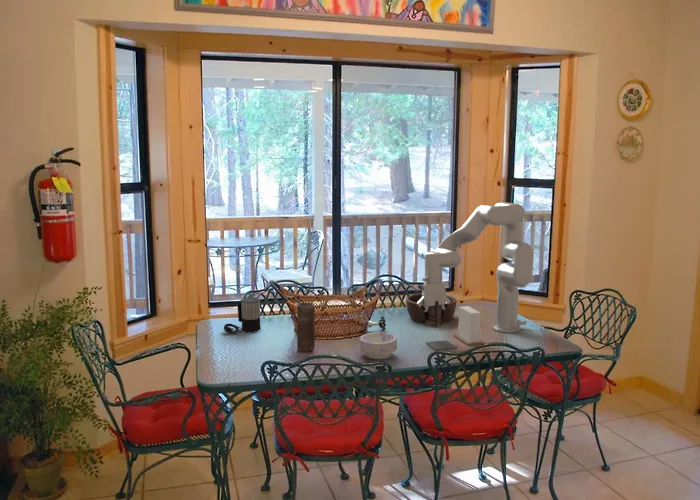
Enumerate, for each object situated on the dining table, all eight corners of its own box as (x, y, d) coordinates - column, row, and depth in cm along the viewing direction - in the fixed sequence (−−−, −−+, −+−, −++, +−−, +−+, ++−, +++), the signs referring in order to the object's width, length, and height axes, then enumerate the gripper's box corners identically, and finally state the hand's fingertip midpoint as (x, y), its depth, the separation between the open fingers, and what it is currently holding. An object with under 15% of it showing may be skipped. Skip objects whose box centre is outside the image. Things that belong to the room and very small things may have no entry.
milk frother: (265, 329, 283) (264, 298, 281) (244, 338, 269) (243, 305, 267) (241, 325, 290) (240, 295, 287) (219, 333, 276) (218, 302, 274)
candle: (306, 346, 258) (305, 300, 255) (318, 349, 253) (318, 303, 250) (293, 350, 252) (292, 304, 249) (306, 354, 247) (305, 307, 244)
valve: (360, 333, 276) (385, 332, 279) (360, 319, 275) (386, 318, 278) (357, 329, 282) (381, 328, 285) (357, 316, 281) (382, 314, 284)
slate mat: (446, 341, 264) (446, 340, 264) (456, 348, 254) (456, 347, 254) (425, 343, 261) (425, 342, 261) (434, 350, 252) (434, 349, 252)
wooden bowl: (404, 311, 314) (404, 292, 313) (452, 312, 313) (453, 293, 312) (407, 325, 289) (407, 304, 288) (459, 325, 288) (459, 305, 287)
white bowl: (352, 356, 245) (352, 337, 243) (375, 347, 256) (375, 329, 255) (381, 365, 235) (381, 345, 233) (404, 355, 246) (404, 336, 245)
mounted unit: (469, 335, 273) (470, 305, 271) (484, 344, 260) (485, 313, 258) (453, 336, 271) (454, 306, 269) (467, 345, 258) (468, 314, 256)
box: (442, 325, 266) (442, 299, 264) (436, 327, 263) (436, 301, 261) (431, 323, 270) (431, 297, 268) (425, 325, 267) (425, 299, 265)
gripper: (418, 283, 257) (418, 323, 260) (455, 279, 262) (455, 319, 265) (412, 279, 265) (412, 318, 268) (448, 276, 269) (448, 314, 272)
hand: (433, 318), depth 266 cm, fingers closed on box, 6 cm apart
